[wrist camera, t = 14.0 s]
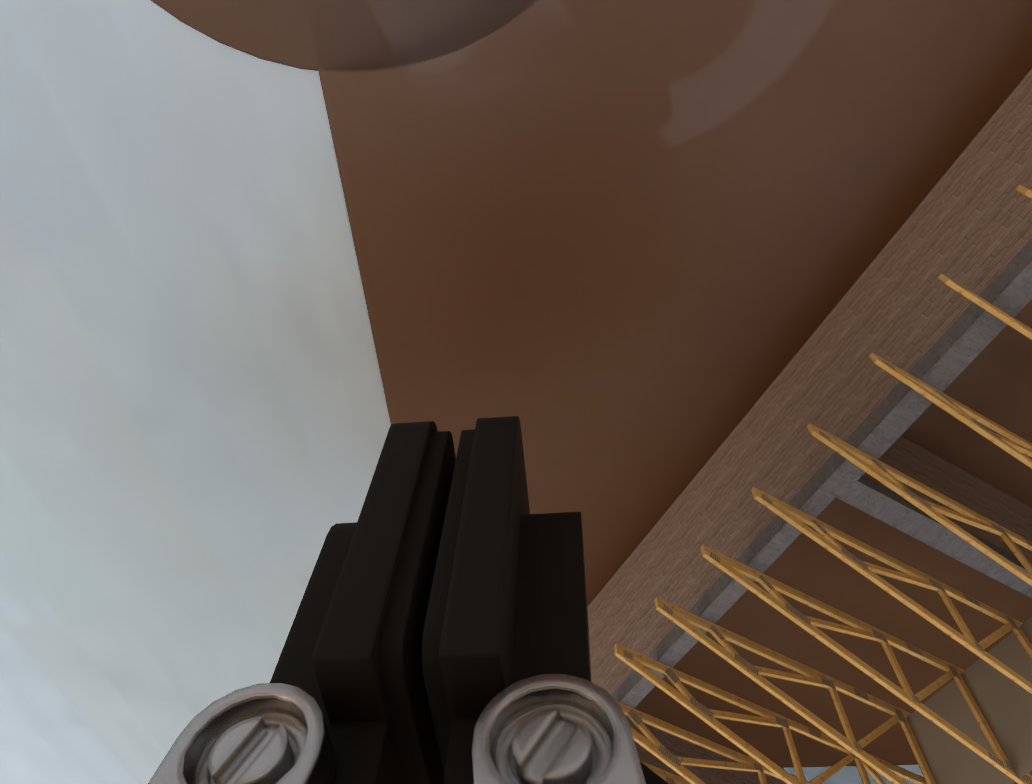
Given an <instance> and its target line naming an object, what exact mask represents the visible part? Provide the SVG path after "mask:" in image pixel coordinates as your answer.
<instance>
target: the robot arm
mask: <svg viewBox="0 0 1032 784" xmlns="http://www.w3.org/2000/svg"><path fill="white" fill-rule="evenodd" d="M148 784H668V783H667V782H666V781H665V780H663V779H662V778H661V777H660V776H658V775H657V774H656V773H655V772H653V771H652V770H651V769H650V768H648V767H647V766H646V765H644V764H643V763H642V762H641V761H640V760H639V757H638V753H637V749H636V746H635V742H634V738H633V735H632V731H631V728H630V724H629V722H628V720H627V718H626V716H625V714H624V712H623V710H622V708H621V706H620V704H619V703H618V702H617V701H616V700H615V699H614V698H613V697H612V696H611V695H610V694H609V693H608V692H607V691H606V690H605V689H603V688H601V687H599V686H598V685H596V684H594V683H592V682H591V664H590V645H589V626H588V608H587V591H586V575H585V559H584V544H583V529H582V516H581V512H562V513H542V514H530V508H529V498H528V489H527V480H526V470H525V461H524V452H523V442H522V433H521V425H520V419H519V416H509V417H492V418H478V419H477V421H476V426H475V429H473V430H462V431H461V435H460V440H459V446H458V451H457V456H456V455H455V449H454V442H453V437H452V434H451V432H450V431H439V432H438V429H437V426H436V423H435V422H434V421H425V422H409V423H394V424H392V425H391V427H390V429H389V432H388V434H387V437H386V440H385V443H384V446H383V449H382V452H381V455H380V458H379V461H378V464H377V467H376V470H375V472H374V475H373V478H372V481H371V484H370V487H369V490H368V493H367V496H366V499H365V502H364V505H363V508H362V511H361V513H360V516H359V519H358V522H357V523H340V524H335V525H334V526H332V527H331V529H330V531H329V532H328V534H327V536H326V539H325V542H324V544H323V547H322V549H321V552H320V555H319V557H318V560H317V562H316V565H315V567H314V570H313V573H312V575H311V578H310V580H309V583H308V586H307V588H306V591H305V593H304V596H303V599H302V601H301V604H300V606H299V609H298V611H297V614H296V617H295V619H294V622H293V624H292V627H291V630H290V632H289V635H288V637H287V640H286V642H285V645H284V648H283V650H282V653H281V655H280V658H279V661H278V663H277V666H276V668H275V671H274V674H273V676H272V679H271V681H270V683H265V684H256V685H253V686H249V687H246V688H242V689H238V690H235V691H233V692H232V693H230V694H228V695H226V696H224V697H222V698H220V699H218V700H216V701H214V702H213V703H211V704H210V705H209V706H208V707H206V708H205V709H204V710H203V711H202V712H200V713H199V714H198V715H197V716H195V717H194V718H193V719H192V720H191V722H190V723H189V724H188V725H187V726H186V728H185V729H184V730H183V731H182V733H181V734H180V735H179V736H178V738H177V739H176V741H175V742H174V744H173V745H172V747H171V748H170V750H169V752H168V753H167V755H166V756H165V758H164V759H163V761H162V763H161V764H160V766H159V767H158V769H157V770H156V772H155V773H154V775H153V777H152V778H151V780H150V781H149V783H148Z"/></svg>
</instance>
